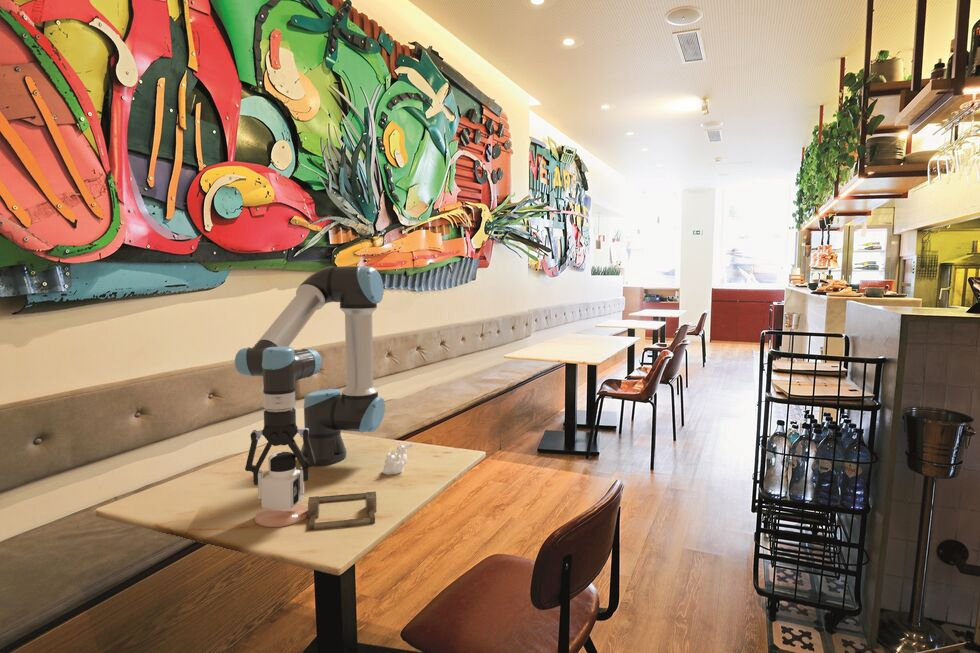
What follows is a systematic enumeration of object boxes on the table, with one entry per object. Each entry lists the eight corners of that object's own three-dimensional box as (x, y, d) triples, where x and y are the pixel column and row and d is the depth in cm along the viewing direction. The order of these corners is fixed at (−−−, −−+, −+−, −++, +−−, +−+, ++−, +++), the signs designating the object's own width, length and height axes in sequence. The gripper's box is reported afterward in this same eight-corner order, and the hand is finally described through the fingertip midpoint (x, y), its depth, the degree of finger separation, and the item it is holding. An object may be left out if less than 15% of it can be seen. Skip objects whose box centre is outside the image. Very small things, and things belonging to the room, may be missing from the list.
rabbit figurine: (403, 464, 182) (403, 435, 181) (421, 468, 178) (421, 439, 177) (377, 474, 172) (376, 444, 171) (395, 480, 168) (394, 448, 167)
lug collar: (311, 501, 151) (310, 487, 151) (374, 496, 155) (374, 482, 155) (306, 530, 134) (305, 514, 134) (377, 523, 138) (377, 507, 138)
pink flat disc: (259, 507, 147) (259, 505, 147) (310, 503, 150) (310, 501, 150) (250, 529, 134) (250, 527, 134) (307, 524, 137) (307, 522, 137)
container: (304, 498, 146) (303, 450, 145) (290, 510, 138) (289, 459, 137) (276, 496, 147) (275, 448, 146) (261, 508, 139) (259, 458, 138)
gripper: (229, 414, 133) (232, 504, 135) (324, 409, 139) (325, 496, 141) (235, 407, 141) (238, 492, 143) (325, 403, 146) (327, 486, 148)
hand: (281, 494), depth 142 cm, fingers closed on container, 9 cm apart
